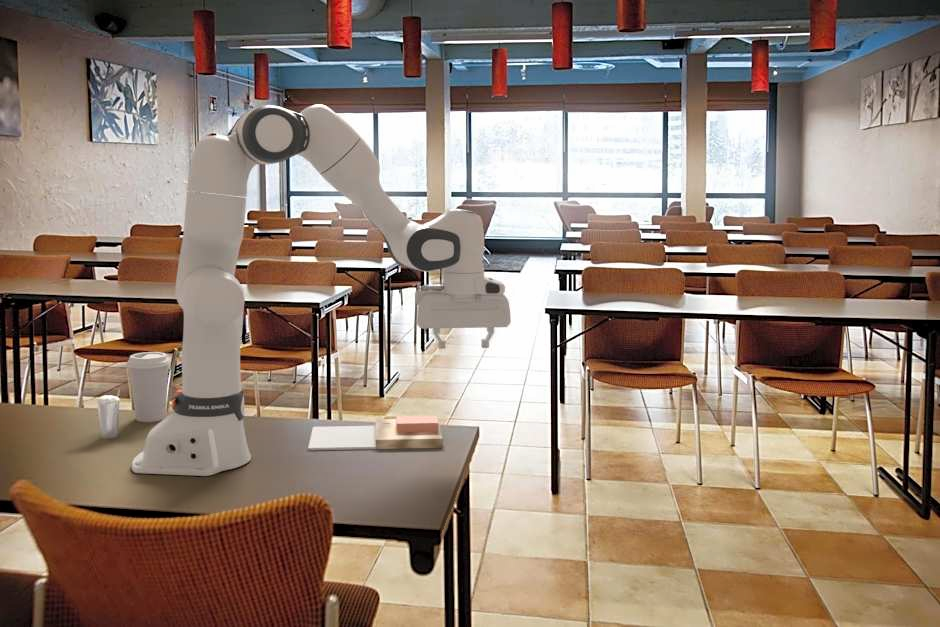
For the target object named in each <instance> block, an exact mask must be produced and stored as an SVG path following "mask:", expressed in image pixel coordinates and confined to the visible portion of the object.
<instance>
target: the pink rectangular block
mask: <svg viewBox="0 0 940 627" xmlns="http://www.w3.org/2000/svg"><path fill="white" fill-rule="evenodd" d="M395 419H396V430H397V433H407V432H438V428H439V427H440V424H439V420H438V416H437V415H402V416H401V415H400V416H399V415H396V416H395Z"/></svg>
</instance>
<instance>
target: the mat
mask: <svg viewBox="0 0 940 627" xmlns="http://www.w3.org/2000/svg"><path fill="white" fill-rule="evenodd" d="M337 450H338V451H341V450H343V451H344V450H345V451H347V450H349V451H350V450H377V449H376V425H347V426H346V425H345V426H344V425H343V426H340V425H339V426H336V425H335V426H334V425H333V426H331V425H330V426H313V427H312V430H311V434H310V437H309V443H308V447H307V451H337Z"/></svg>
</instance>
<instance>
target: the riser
mask: <svg viewBox="0 0 940 627" xmlns="http://www.w3.org/2000/svg"><path fill="white" fill-rule="evenodd" d="M383 423H390V424H383ZM375 426H376V449H375V450H391V449H392V450H393V449H396V450H397V449H399V450H400V449H402V450H403V449H404V450H405V449H439V448H440V449H441V448H443V435H442V430H441V428H440V427H441V426H439V428H438V432H407V433H397V430H396V418H377V419H375Z"/></svg>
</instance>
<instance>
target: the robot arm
mask: <svg viewBox="0 0 940 627" xmlns="http://www.w3.org/2000/svg"><path fill="white" fill-rule="evenodd" d="M296 155H298V156H300V157H302V158H304V159H305V160H306V161H307V162H309V163H310V164H311V166H312V168H314V169H315V171H317V173H318V174H320V176H321V177H322V178H323V179H324V180H325V181H326V182H327V183H328V184H329V185H330V186H332V188H334V189H335V190H336V191H337V192H339V193H340V194H341V195H343V196H344V197H345V198H347V199H348V200H349V201H351V202H352V203H353V204H354V205H355V206H357V208H358V209H360V211H361V212H362V213H363V214H364V215H365V216H366V217H367V219H368V220H369V221H370V222H371V223H372V224H373V226H375V228H376V229H377V230H378V231H379V233H380V234H381V235H382V237H383V239H384V241H385V244H386V247H387V248H386V249H387V250H388V253H389V256H390V257H391V258H392V260H393V261H394V262H395V263H396V264H397V265H398V266H401V267H403V268H406V269H413V270H416V271H421V272H426V273H427V272H433V271H437V270H441V269H442V284H432V285H429V284H423V285H422V286H421V287H418V288H417V289H416V290H415V293H414V301H415V304H416V305H417V312H416V325H417V327H419V328H420V329H422V330H423V329H432V332H433V335H434V337H435V338H436V340H437V342H438V343H437V346H438V350H439V349H440V350H443V349H444V350H446V340H445V339H442V338H441V336H440V335H439V334H440V333H441V329H470V328H471V329H475V328H476V329H478V328H479V329H481V328H486V331H487V334H486V336H485V338H481V348H482V349H489V348H490V340H491V339H492V337H493V335H494V333H495V328H508V326H510V324H511V322H512V321H511V318H512V317H511V308H510V303H509V299H508V298H507V297H506V295H505V292H506V286H505V284H504V283H503V282H502V281H499V280H496V279H494V278H492V277H487V276H485V267H484V263H483V258H484V257H483V256H484V254H485V233H484V232H485V231H484V223H483V220H482V216H480V215H479V214H478V213H477V212H475V211H472V210H467V209H460V208H453V207H451V208H447V209H446V210H445V211H444V212H443V213H442V214H440V215H439V216H437V217H435V218H434V219H432V220H430V221H427V222H425V223H423V224H420V223H419V222H416V221H413V220H412V219H410V218H408V217H406V216H405V214H404V213H403V212H402V211H401V210H400V209H399V207H398V206H397V205H396V204H395V202H393V200H392V199H391V198H390V197H389V196H388V194H387V193H386V192H385V191H384V189H383V187H382V184H381V183H380V172H381V167H380V162H379V160H378V158H377V157H376V154H374V152H373V149H371V148H370V145H368V143H367V142H366V141H365V140H364V139H363V138H362V137H361V135H360V134H359V133H358V132H357V131H356V130H355V129H354V128H353V127H352V126H351V125H350V124H349V123H348V122H347V121H345V119H343V118H342V117H341V116H340V115H339V114H338V113H336V112H335V111H334V110H332V109H331V108H330V107H328V106H327V105H324V104H321V103H320V104H313V105H310V106H307V107H305V108H304V109H303V110H301V111H300V112H299V113H298V112H296V111H293V110H291V109H287V108H284V107H281V106H277V105H274V104H273V105H272V104H266V105H258V106H255V107H251V108H250V109H248V110H247V111H246V112H244V113H243V114H242V115H241V116H239V117H238V119H237V120H236V121H235V123H234V124H233V126H232V127H231V129H230V130H229V132H228V133H227V134H226V135H219V134H217V135H216V134H215V135H210V136H206V137H204V138H202V139H200V140H199V141H198V142H197V143H196V145H195V147H194V151H193V155H192V159H191V162H190V166H189V171H188V172H189V173H188V179H187V186H186V187H187V188H186V199H185V210H184V211H185V214H184V223H183V224H184V225H183V235H182V241H181V246H180V252H179V256H178V257H179V258H178V265H177V266H178V267H177V274H176V278H175V279H176V280H175V289H174V290H175V298H176V301H177V303H178V305H179V306H180V308H181V309H182V311H183V333H182V335H183V336H182V348H181V373H182V374H181V376H182V378H181V380H182V388H181V389H178V390H176V392H175V393H174V394H173V397H172V400H171V406H172V412H171V413H170V414H169V415H167V416H166V418H165V419H163V420H161V421H159V423H157V424H156V425H155V426H154V427H152V429H151V430H149V432H148V434H147V436H145V437H146V438H145V442H144V445H143V451H141V452H139V453H138V454H137V455H136V456H135V457H134V458H133V460H132V462H131V470H132V472H134V474H136V473H137V474H152V475H154V474H155V475H173V476H174V475H175V476H198V477H200V476H201V477H208V476H212V475H213V476H214V475H216V474H218V473H220V472H223V471H227V470H233V469H236V468H239V467H242V466H244V465H245V464H247V463H249V462H250V461H251V460H252V455H251V453H250V450H249V446H248V442H247V438H246V432H245V426H244V425H245V424H244V418H245V396H244V390H243V389H242V379H241V373H242V372H241V344H242V335H243V326H244V310H245V309H244V307H245V292H244V288H243V286H242V284H241V283H240V281H239V279H237V278H236V277H235V273H236V268H237V264H238V263H237V262H238V258H239V254H240V249H241V245H242V242H243V240H244V233H245V232H244V231H245V218H246V207H247V196H248V195H247V191H248V180H249V176H250V174H251V171H252V169H254V167H255V166H256V165H260V164H261V165H274V164H277V163H282V162H284V161H287V160H288V159H290V158H293V157H295V156H296Z"/></svg>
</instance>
